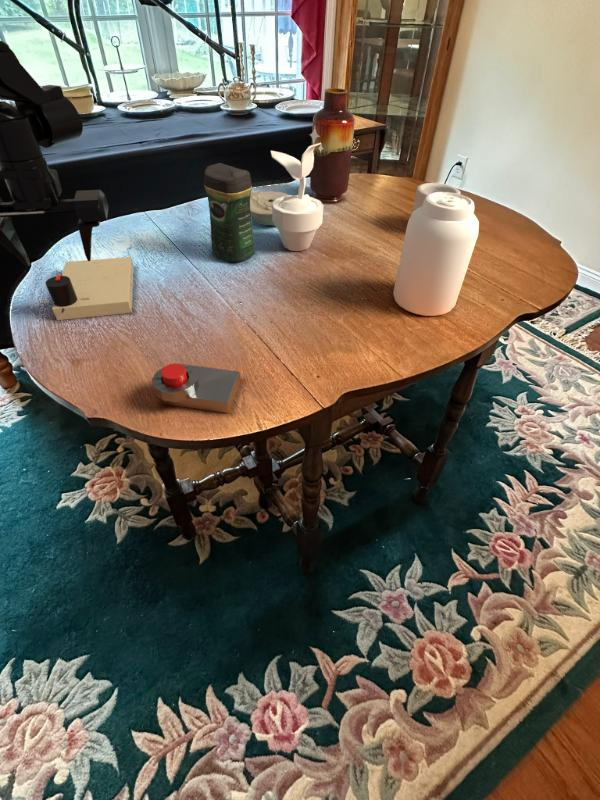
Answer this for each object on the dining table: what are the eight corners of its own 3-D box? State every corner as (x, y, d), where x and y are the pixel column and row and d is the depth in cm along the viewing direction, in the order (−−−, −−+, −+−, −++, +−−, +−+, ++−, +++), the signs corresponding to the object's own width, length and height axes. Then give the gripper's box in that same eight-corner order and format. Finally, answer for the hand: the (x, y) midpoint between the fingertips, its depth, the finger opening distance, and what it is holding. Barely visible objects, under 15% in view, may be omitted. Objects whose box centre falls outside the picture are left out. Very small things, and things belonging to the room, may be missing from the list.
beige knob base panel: (42, 327, 77) (37, 315, 75) (58, 273, 91) (54, 261, 89) (131, 318, 80) (127, 306, 78) (133, 267, 94) (131, 256, 92)
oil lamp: (213, 215, 115) (211, 195, 112) (248, 200, 124) (247, 181, 120) (275, 237, 107) (275, 216, 103) (308, 219, 115) (309, 199, 112)
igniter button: (159, 386, 62) (157, 377, 61) (168, 371, 64) (166, 361, 63) (182, 389, 62) (180, 380, 60) (190, 373, 64) (188, 364, 63)
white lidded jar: (446, 324, 82) (481, 218, 68) (384, 306, 86) (404, 202, 72) (460, 294, 90) (493, 194, 76) (402, 279, 94) (424, 181, 80)
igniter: (151, 409, 64) (145, 389, 61) (172, 373, 69) (167, 353, 67) (226, 419, 63) (223, 400, 60) (240, 382, 68) (238, 362, 66)
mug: (442, 242, 108) (453, 200, 101) (402, 231, 112) (410, 190, 105) (458, 224, 116) (470, 184, 109) (420, 214, 120) (429, 176, 113)
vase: (305, 202, 124) (310, 92, 106) (313, 189, 132) (318, 84, 113) (343, 206, 122) (354, 96, 104) (349, 193, 130) (360, 88, 112)
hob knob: (76, 305, 78) (67, 284, 75) (52, 307, 77) (42, 286, 74) (78, 294, 81) (70, 272, 78) (55, 296, 80) (46, 275, 77)
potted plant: (329, 244, 105) (339, 125, 87) (303, 262, 98) (308, 136, 80) (287, 230, 110) (288, 115, 92) (259, 246, 103) (254, 125, 85)
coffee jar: (260, 254, 100) (258, 167, 87) (236, 267, 95) (230, 176, 82) (230, 242, 104) (223, 157, 91) (206, 253, 99) (195, 165, 86)
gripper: (95, 138, 67) (121, 237, 78) (-41, 142, 63) (6, 245, 74) (89, 160, 59) (119, 266, 70) (-66, 165, 55) (-10, 277, 66)
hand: (59, 262), depth 70 cm, fingers open, 9 cm apart
